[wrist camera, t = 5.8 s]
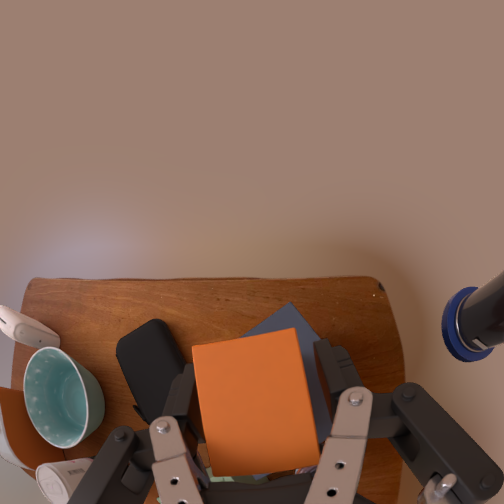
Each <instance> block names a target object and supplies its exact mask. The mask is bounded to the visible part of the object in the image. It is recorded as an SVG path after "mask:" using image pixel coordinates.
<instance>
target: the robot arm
mask: <svg viewBox="0 0 504 504" xmlns="http://www.w3.org/2000/svg"><path fill="white" fill-rule="evenodd" d="M454 329H455V333H456V336H457V339H458V341H459V342H460V344H461V345H462V346H463V347H464V348H465V349H466V350H468V351H470V352H474V353H477V352H481V351H484V350H486V349H489V348H492V347H495V346H498V345H501V344H504V270H503V271H501V272H500V273H499V274H497V275H496V276H495V277H493V278H492V279H491V280H489V281H488V282H487V283H485V284H484V285H482V286H481V287H480V288H478V289H476V290H475V291H474V292H472V293H470V294H468V295H467V296H465V297H464V298H463V299H462V300H461V301H460V302H459V304H458V306H457V308H456V311H455V315H454ZM313 348H314V356H315V363H316V369H317V374H318V377H319V381H320V384H321V387H322V391H323V394H324V398H325V401H326V405H327V408H328V412H329V415H330V419H331V422H332V429H331V433H330V435H329V436H327V438H326V441H325V444H324V447H323V451H322V454H321V457H320V460H319V463H318V466H317V469H316V472H315V475H314V477H311V472H306V473H300V474H295V475H288V476H284V477H281V478H278V479H275V480H272V481H269V482H266V483H263V484H259V485H255V484H247V483H240V482H234V481H227V482H211V480H210V478H209V475H208V473H207V471H206V468H205V466H204V464H203V461H202V459H201V456H200V454H199V452H198V450H197V446H198V443H206V440H205V434H204V429H203V423H202V417H201V411H200V405H199V398H198V392H197V385H196V378H195V370H194V363H188V364H186V365H185V368H184V372H183V374H178V375H177V376H176V378H175V379H174V380H173V381H172V384H171V388H170V391H169V394H168V395H169V396H168V397H167V400H166V404H165V407H164V410H163V414H162V416H161V417H159V418H157V419H155V420H154V421H153V422H152V423H151V425H150V428H148V429H145V430H140V431H136V432H134V431H133V429H132V428H131V427H129V426H119V427H117V428H115V429H114V430H113V431H112V432H111V433H110V435H109V436H108V438H107V439H106V441H105V443H104V444H103V446H102V447H101V449H100V450H99V452H98V454H97V455H96V457H95V458H94V460H93V462H92V463H91V465H90V466H89V468H88V470H87V471H86V473H85V474H84V476H83V478H82V479H81V481H80V482H79V484H78V486H77V487H76V489H75V491H74V492H73V494H72V496H71V497H70V499H69V500H68V502H67V504H143V503H144V501H145V499H146V497H147V495H148V492H149V490H150V488H151V486H152V484H153V482H154V479H155V482H156V486H157V490H158V494H159V498H160V501H161V504H375V503H374V502H372V501H370V500H368V499H366V498H365V497H363V496H361V495H359V494H358V493H356V492H357V488H358V484H359V480H360V476H361V471H362V466H363V461H364V456H365V451H366V446H367V440H368V438H384V437H387V438H388V439H389V441H390V442H391V443H392V445H393V446H394V447H395V449H396V450H397V452H398V453H399V454H400V456H401V457H402V458H403V460H404V461H405V463H406V464H407V465H408V467H409V468H410V469H411V471H412V472H413V473H414V475H415V476H416V478H417V479H418V481H419V482H420V483H421V485H422V486H423V487H424V488H423V489H422V490H421V492H420V493H419V495H418V498H417V504H484V503H486V502H487V501H488V500H489V499H491V498H492V497H493V496H494V495H496V494H497V493H498V492H499V490H500V489H501V487H502V485H503V481H504V474H503V472H502V470H501V469H500V468H499V467H498V465H497V464H496V463H495V462H494V461H493V460H492V459H491V458H490V457H489V456H488V455H487V454H486V453H485V452H484V450H483V449H482V448H481V447H480V446H479V445H478V444H477V443H476V442H475V441H474V440H473V439H472V438H471V437H470V436H469V435H468V434H467V433H466V432H465V431H464V429H463V428H462V427H461V426H460V425H459V424H458V423H456V421H455V420H454V419H453V418H452V417H451V416H450V415H449V414H448V413H447V412H446V411H445V410H444V409H443V408H442V407H441V406H440V405H439V404H438V403H437V402H436V401H435V400H434V399H433V398H432V397H431V396H430V395H429V394H428V393H427V392H426V391H425V390H424V389H423V388H422V387H421V386H420V385H418V384H416V383H403V384H401V385H399V386H397V387H396V388H395V390H394V391H393V393H382V394H379V393H373V392H370V391H369V390H368V389H367V388H365V387H364V385H363V383H362V381H361V379H360V377H359V375H358V372H357V370H356V368H355V366H354V365H353V362H352V360H351V358H350V355H349V353H348V351H347V350H346V349H344V348H343V347H342V346H340V345H339V346H335V347H331V345H330V343H329V340H328V338H326V339H322V340H318V341H314V342H313ZM128 463H130V465H129V467H128V469H127V471H126V472H125V474H124V476H123V478H122V480H121V476H122V474H123V472H124V470H125V468H126V467H127V465H128Z"/></svg>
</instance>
